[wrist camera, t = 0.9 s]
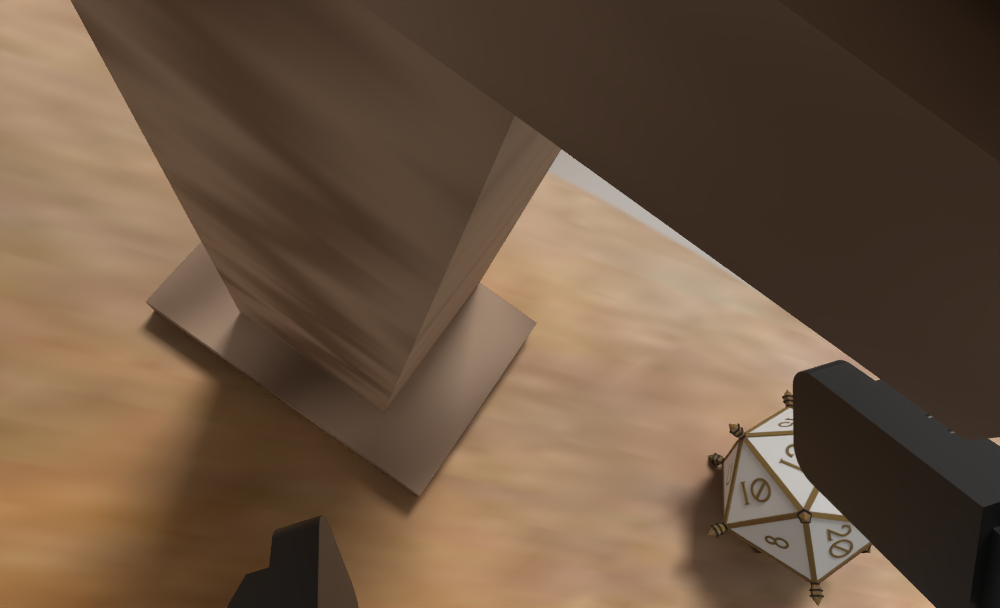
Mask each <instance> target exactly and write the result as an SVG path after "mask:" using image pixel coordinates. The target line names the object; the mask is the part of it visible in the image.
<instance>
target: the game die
mask: <svg viewBox="0 0 1000 608" xmlns="http://www.w3.org/2000/svg"><path fill="white" fill-rule="evenodd" d="M782 398H783V399H784V401H783V402H784V403H785V405H786V407H785V408H784V409H782V410H781V411H779V412H777V413H776V414H774V415H772V416H771V417H769V418H768V419H766V420H764V421H763V422H761V423H759V424H758V425H756V426H755V427H753V428H751V429H750V430H748V431H746V432H745V433H744V431H743V428H742V427H740V425H739V424H737V425H735V424H729V427H730V433H732V434H733V435H734V436H735V437H737V438H738V437H739V439H738V440H737V442H736V443H735V444H734V446H733V447H732V449H731V450H730V451H729V453H728V454H727V456H726V457H725V458H723V457H722V456H720V455H718V454H716V453H715V454H713V455H710V456H709V458H710V459H711V460H712V462H713V464H717V465H719V464H722V468H723V523H722V524H717V523H716V525H714V526H713V525H711V529H710V531H709V533H708V535H710V536H716V537H718V536H719V535H720V534H721V535H722V534H723V532H724V531H726V530H727V531H729V532H730V533H732V534H733V535H735V536H736V537H738V538H740V539H741V540H743V541H744V542H746V543H748V544H749V545H751V546H752V547H753V548H754V551H755V553H763V554H765V555H767V556H768V557H770V558H771V559H773V560H775V561H776V562H778V563H779V564H781V565H782V566H784V567H786V568H787V569H789V570H790V571H792V572H794V573H795V574H797V575H798V576H800V577H802V578H803V579H805V580H806V581H808V582H809V583H811V589H810V590H809V591H811V595H810V597H812V599H813V600H814V601H815V603H816V604H817V605H818V606H819V604H820V602H821V600H822V598H823V597H824V596H823V595H822V591H823V590H821V588H820V586H819V584H820V583H821V582H822V581H823V580H825V579H826V578H827V577H829V576H830V575H831V574H833V573H834V572H836V571H837V570H838V569H840V568H841V567H842V566H844V565H845V564H846V563H848V562H849V561H850V560H852V559H853V558H855V557H856V556H857V555H859V554H860V553H870V547H871V545H872V543H871V542H870V541H869V540H868V539H867V538H866V537H865V536H864V535H863V534H862V533H861V532H860V531H859V530H858V529H857V528H856V527H855V526H853V525H852V524H851V523H850V522H849V521H848V520H847V519H846V518H845V517H844V516H843V515H842V514H841V513H840V512H839V511H838V510H837V509H836V508H835V507H834V506H833V505H832V504H831V503H830V502H829V501H828V500H827V499H826V498H825V497H824V496H823V495H822V494H821V493H820V492H819V491H818V490H817V489H816V488H815V487H814V486H813V485H812V484H811V483H810V482H809V480H808V479H807V478H806V477H805V475H804V474H803V472H802V470H801V468H800V466H799V464H798V462H797V459H796V456H795V452H794V446H793V395H792V394H791V393H790V392H789V391H788V390H787V391H786V393H785V394H784V396H782Z"/></svg>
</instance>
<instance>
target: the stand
mask: <svg viewBox="0 0 1000 608" xmlns="http://www.w3.org/2000/svg"><path fill="white" fill-rule="evenodd" d="M71 2H72V4H73V5H74V7H75V9H76V11H77V13H78V15H79V16H80V18H81V20H82V22H83V24H84V26H85V28H86V29H87V31H88V33H89V35H90V37H91V39H92V40H93V42H94V44H95V46H96V48H97V50H98V52H99V53H100V55H101V57H102V59H103V61H104V63H105V64H106V66H107V68H108V70H109V72H110V74H111V75H112V77H113V79H114V81H115V83H116V85H117V87H118V88H119V90H120V92H121V94H122V96H123V98H124V99H125V101H126V103H127V105H128V107H129V109H130V111H131V112H132V114H133V116H134V118H135V120H136V122H137V123H138V125H139V127H140V129H141V131H142V133H143V135H144V136H145V138H146V140H147V142H148V144H149V146H150V147H151V149H152V151H153V153H154V155H155V157H156V158H157V160H158V162H159V164H160V166H161V168H162V170H163V171H164V173H165V175H166V177H167V179H168V181H169V182H170V184H171V186H172V188H173V190H174V192H175V194H176V195H177V197H178V199H179V201H180V203H181V205H182V206H183V208H184V210H185V212H186V214H187V216H188V218H189V219H190V221H191V223H192V225H193V227H194V229H195V230H196V232H197V234H198V236H199V238H200V240H201V243H200V244H199V245H198V246H197V247H196V248H195V249H194V250H193V251H192V252H191V254H190V255H189V256H188V257H187V258H186V259H185V260H184V261H183V262H182V263H181V264H180V265H179V266H178V267H177V268H176V270H175V271H174V272H173V273H172V274H171V275H170V276H169V277H168V278H167V279H166V280H165V281H164V282H163V283H162V284H161V286H160V287H159V288H158V289H157V290H156V291H155V292H154V293H153V294H152V295H151V296H150V297H149V298H148V299H147V300H146V303H147V304H148V305H149V306H150V307H151V308H152V309H153V310H154V311H156V312H157V313H159V314H160V315H161V316H163V317H164V318H166V319H167V320H168V321H170V322H171V323H173V324H174V325H176V326H177V327H178V328H180V329H181V330H183V331H184V332H185V333H187V334H188V335H190V336H191V337H192V338H194V339H195V340H197V341H198V342H200V343H201V344H202V345H204V346H205V347H207V348H208V349H209V350H211V351H212V352H214V353H215V354H216V355H218V356H219V357H221V358H222V359H224V360H225V361H226V362H228V363H229V364H231V365H232V366H233V367H235V368H236V369H238V370H239V371H240V372H242V373H243V374H245V375H246V376H248V377H249V378H250V379H252V380H253V381H255V382H256V383H257V384H259V385H260V386H262V387H263V388H264V389H266V390H267V391H269V392H270V393H272V394H273V395H274V396H276V397H277V398H279V399H280V400H281V401H283V402H284V403H286V404H287V405H289V406H290V407H291V408H293V409H294V410H296V411H297V412H298V413H300V414H301V415H303V416H304V417H305V418H307V419H308V420H310V421H311V422H313V423H314V424H315V425H317V426H318V427H320V428H321V429H322V430H324V431H325V432H327V433H328V434H329V435H331V436H332V437H334V438H335V439H337V440H338V441H339V442H341V443H342V444H344V445H345V446H346V447H348V448H349V449H351V450H352V451H353V452H355V453H356V454H358V455H359V456H361V457H362V458H363V459H365V460H366V461H368V462H369V463H370V464H372V465H373V466H375V467H376V468H377V469H379V470H380V471H382V472H383V473H385V474H386V475H387V476H389V477H390V478H392V479H393V480H394V481H396V482H397V483H399V484H400V485H401V486H403V487H404V488H406V489H407V490H409V491H410V492H411V493H413V494H414V495H416V496H420V495H421V494H422V492H423V491H424V489H425V488H426V486H427V485H428V484H429V482H430V481H431V479H432V478H433V476H434V475H435V473H436V472H437V470H438V469H439V467H440V466H441V464H442V463H443V461H444V460H445V458H446V457H447V455H448V454H449V452H450V451H451V449H452V448H453V446H454V445H455V443H456V442H457V441H458V439H459V438H460V436H461V435H462V433H463V432H464V430H465V429H466V427H467V426H468V424H469V423H470V421H471V420H472V418H473V417H474V415H475V414H476V412H477V411H478V409H479V408H480V406H481V405H482V403H483V402H484V400H485V399H486V398H487V396H488V395H489V393H490V392H491V390H492V389H493V387H494V386H495V384H496V383H497V381H498V380H499V378H500V377H501V375H502V374H503V372H504V371H505V369H506V368H507V366H508V365H509V363H510V362H511V360H512V359H513V357H514V356H515V355H516V353H517V352H518V350H519V349H520V347H521V346H522V344H523V343H524V341H525V340H526V338H527V337H528V335H529V334H530V332H531V331H532V329H533V328H534V326H535V325H536V322H535V321H533V320H532V319H531V318H529V317H528V316H526V315H525V314H524V313H522V312H521V311H519V310H518V309H517V308H515V307H514V306H512V305H511V304H510V303H508V302H507V301H505V300H504V299H503V298H501V297H500V296H498V295H497V294H496V293H494V292H493V291H491V290H490V289H489V288H487V287H486V286H484V285H483V284H482V283H480V281H481V279H482V277H483V276H484V274H485V273H486V271H487V269H488V268H489V266H490V264H491V263H492V261H493V259H494V258H495V256H496V255H497V253H498V251H499V250H500V248H501V246H502V245H503V243H504V242H505V240H506V238H507V237H508V235H509V233H510V232H511V230H512V229H513V227H514V225H515V224H516V222H517V220H518V219H519V217H520V215H521V214H522V212H523V211H524V209H525V207H526V206H527V204H528V202H529V201H530V199H531V198H532V196H533V194H534V193H535V191H536V189H537V188H538V186H539V184H540V183H541V181H542V180H543V178H544V176H545V175H546V173H547V171H548V170H549V168H550V167H551V165H552V163H553V161H554V160H555V158H556V157H557V155H558V153H559V152H560V150H561V149H562V150H564V151H565V152H566V153H568V154H569V155H571V156H572V157H573V158H575V159H576V160H577V161H579V162H580V163H582V164H583V165H584V166H586V167H587V168H589V169H590V170H591V171H593V172H594V173H595V174H597V175H598V176H600V177H601V178H603V179H604V180H605V181H607V182H608V183H609V184H611V185H612V186H614V187H615V188H616V189H618V190H619V191H620V192H622V193H623V194H625V195H626V196H627V197H629V198H630V199H632V200H633V201H634V202H636V203H637V204H638V205H640V206H641V207H643V208H644V209H645V210H647V211H648V212H650V213H651V214H652V215H654V216H655V217H657V218H658V219H659V220H661V221H662V222H664V223H665V224H666V225H668V226H669V227H671V228H672V229H673V230H675V231H676V232H678V233H679V234H680V235H682V236H683V237H684V238H686V239H687V240H688V241H690V242H691V243H693V244H694V245H696V246H697V247H698V248H700V249H701V250H702V251H704V252H705V253H706V254H708V255H709V256H711V257H712V258H713V259H715V260H716V261H718V262H719V263H720V264H722V265H723V266H724V267H726V268H727V269H729V270H730V271H732V272H733V273H734V274H736V275H737V276H738V277H740V278H741V279H743V280H744V281H745V282H747V283H748V284H749V285H751V286H752V287H754V288H755V289H756V290H758V291H759V292H761V293H762V294H763V295H765V296H766V297H768V298H769V299H770V300H772V301H773V302H774V303H776V304H777V305H779V306H780V307H781V308H783V309H784V310H786V311H787V312H788V313H790V314H791V315H792V316H794V317H795V318H797V319H798V320H799V321H801V322H802V323H804V324H805V325H806V326H808V327H809V328H811V329H812V330H813V331H815V332H816V333H817V334H819V335H820V336H822V337H823V338H824V339H826V340H827V341H829V342H830V343H831V344H833V345H834V346H835V347H837V348H838V349H840V350H841V351H842V352H844V353H845V354H847V355H848V356H849V357H851V358H852V359H854V360H855V361H856V362H858V363H859V364H860V365H862V366H863V367H865V368H866V369H867V370H869V371H870V372H872V373H873V374H874V375H876V376H877V377H878V378H880V379H881V380H883V381H884V382H885V383H887V384H888V385H890V386H891V387H892V388H894V389H895V390H897V391H898V392H899V393H901V394H902V395H903V396H905V397H906V398H908V399H909V400H910V401H912V402H913V403H915V404H916V405H917V406H919V407H920V408H921V409H923V410H924V411H926V412H927V413H928V414H930V415H931V416H933V417H934V418H935V419H937V420H938V421H940V422H941V423H942V424H944V425H945V426H946V427H948V428H949V429H951V430H952V431H953V432H955V433H956V434H958V435H959V436H960V437H962V438H963V439H965V440H976V439H986V438H996V437H1000V0H71Z"/></svg>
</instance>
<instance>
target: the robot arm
mask: <svg viewBox="0 0 1000 608" xmlns="http://www.w3.org/2000/svg"><path fill="white" fill-rule="evenodd" d="M793 446H794V452H795V456H796V459H797V462H798V464H799V466H800V468H801V470H802V472H803V474H804V475H805V477H806V478H807V479H808V480H809V482H810V483H811V484H812V485H813V486H814V487H815V488H816V489H817V490H818V491H819V492H820V493H821V494H822V495H823V496H824V497H825V498H826V499H827V500H828V501H829V502H830V503H831V504H832V505H833V506H834V507H835V508H836V509H837V510H838V511H839V512H840V513H841V514H842V515H843V516H844V517H845V518H846V519H847V520H848V521H849V522H850V523H851V524H852V525H853V526H855V527H856V528H857V529H858V530H859V531H860V532H861V533H862V534H863V535H864V536H865V537H866V538H867V539H868V540H869V541H870V542H871V543H872V544H873V545H874V546H875V547H876V548H877V549H878V550H879V551H880V552H881V553H882V554H883V555H884V556H885V557H886V558H887V559H888V560H889V561H890V562H891V563H892V564H893V565H894V566H895V567H896V568H897V569H898V570H899V571H900V572H901V573H902V574H903V575H904V576H905V577H906V578H907V579H908V580H909V581H910V582H911V583H912V584H913V585H914V586H915V587H916V588H917V589H918V590H919V591H920V592H921V593H922V594H923V595H924V596H925V597H926V598H927V599H928V600H929V601H930V602H931V603H932V604H933V605H934V606H935V607H936V608H1000V446H999V445H997V444H996V443H994V442H993V441H991V440H990V439H988V438H986V439H976V440H965V439H963V438H962V437H960V436H959V435H958V434H956V433H955V432H953V431H952V430H951V429H949V428H948V427H946V426H945V425H944V424H942V423H941V422H940V421H938V420H937V419H935V418H934V417H933V416H931V415H930V414H928V413H927V412H926V411H924V410H923V409H921V408H920V407H919V406H917V405H916V404H915V403H913V402H912V401H910V400H909V399H908V398H906V397H905V396H903V395H902V394H901V393H899V392H898V391H897V390H895V389H894V388H892V387H891V386H890V385H888V384H887V383H885V382H884V381H883V380H881V379H880V380H877V381H875V380H873V379H872V378H870V377H869V376H867V375H866V374H865V373H863V372H862V371H860V370H859V369H857V368H856V367H854V366H853V365H851V364H850V363H848V362H846V361H844V360H837V361H834V362H831V363H827V364H824V365H821V366H817V367H814V368H811V369H808V370H804V371H801V372H798V373H797V374H796V375H795V377H794V380H793ZM227 608H358V603H357V599H356V595H355V591H354V588H353V585H352V582H351V580H350V577H349V575H348V572H347V570H346V567H345V565H344V562H343V559H342V557H341V554H340V552H339V549H338V547H337V544H336V542H335V539H334V537H333V534H332V532H331V529H330V526H329V524H328V522H327V520H326V518H325V517H324V516H319V517H315V518H312V519H309V520H306V521H302V522H299V523H296V524H292V525H289V526H286V527H283V528H279V529H276V530H275V531H274V533H273V538H272V546H271V556H270V565H269V568H266V569H262V570H259V571H256V572H253V573H249V574H246V576H245V577H244V579H243V581H242V583H241V584H240V586H239V588H238V589H237V591H236V593H235V594H234V596H233V598H232V599H231V601H230V603H229V605H228V607H227Z"/></svg>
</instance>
